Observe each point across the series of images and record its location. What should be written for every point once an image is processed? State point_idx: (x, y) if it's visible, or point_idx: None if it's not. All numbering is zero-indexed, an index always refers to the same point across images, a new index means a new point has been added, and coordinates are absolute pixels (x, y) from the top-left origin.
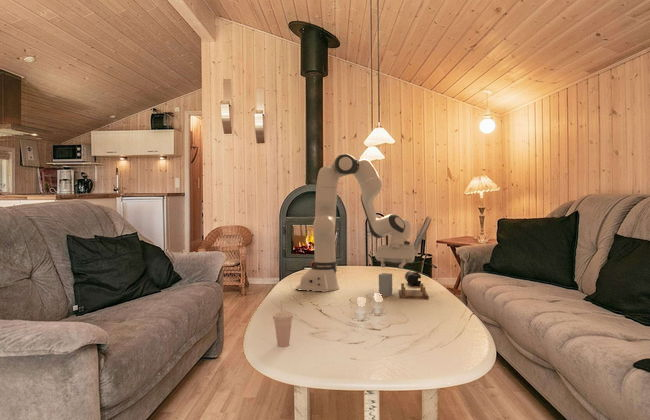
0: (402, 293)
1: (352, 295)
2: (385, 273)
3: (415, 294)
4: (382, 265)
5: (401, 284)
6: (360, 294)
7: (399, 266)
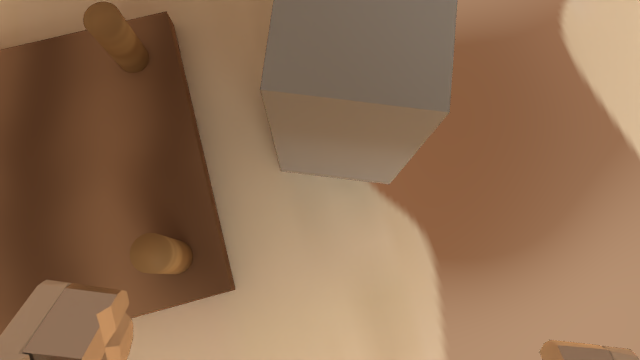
0: (142, 45)
1: (634, 3)
2: (385, 86)
3: (15, 107)
4: (582, 344)
5: (167, 237)
6: (582, 64)
7: (100, 288)
